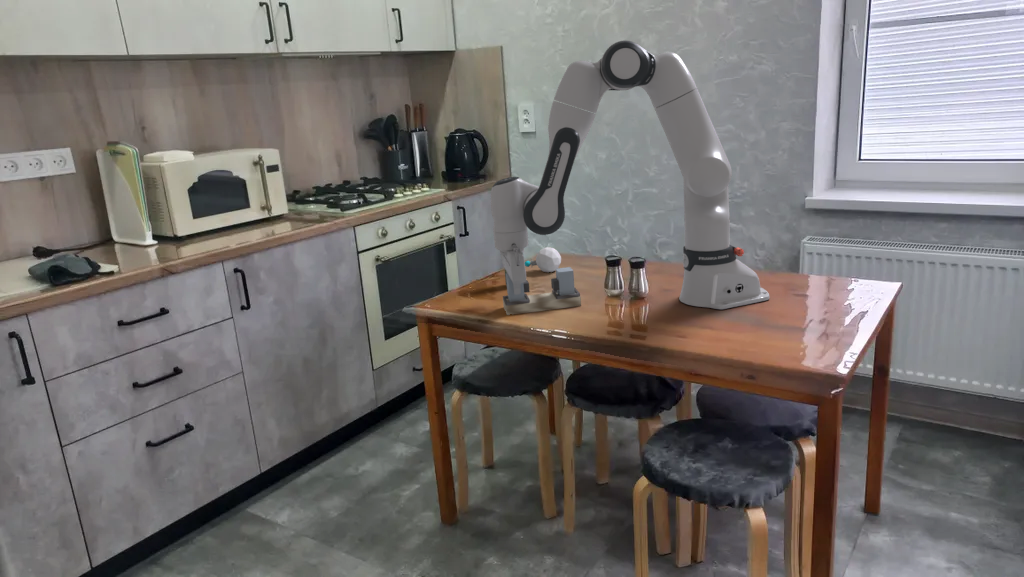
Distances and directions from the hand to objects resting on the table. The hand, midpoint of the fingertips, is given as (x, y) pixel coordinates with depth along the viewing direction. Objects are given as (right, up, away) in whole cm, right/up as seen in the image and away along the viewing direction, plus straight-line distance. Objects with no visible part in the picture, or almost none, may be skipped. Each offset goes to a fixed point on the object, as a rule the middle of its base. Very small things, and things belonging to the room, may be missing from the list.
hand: (515, 290), depth 187 cm
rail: (+7, -4, +2) cm, 9 cm away
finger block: (0, -2, +1) cm, 2 cm away
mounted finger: (+14, -1, +2) cm, 14 cm away
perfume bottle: (+9, +6, +36) cm, 38 cm away
